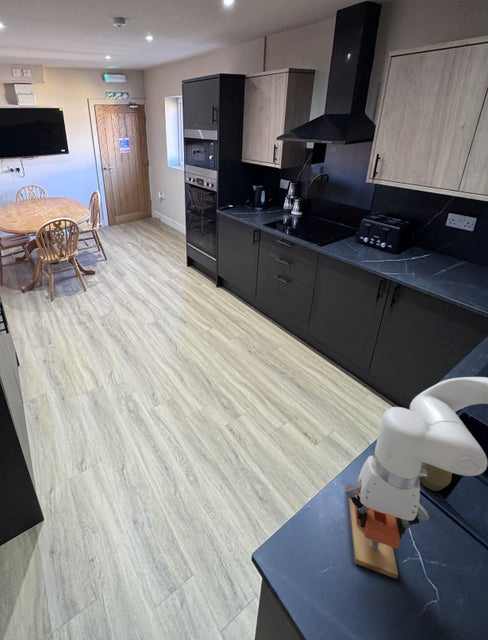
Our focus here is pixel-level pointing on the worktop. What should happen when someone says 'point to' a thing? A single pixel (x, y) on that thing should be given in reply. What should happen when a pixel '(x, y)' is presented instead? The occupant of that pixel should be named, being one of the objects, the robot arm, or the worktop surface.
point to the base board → (371, 549)
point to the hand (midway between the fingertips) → (378, 525)
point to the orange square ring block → (382, 528)
